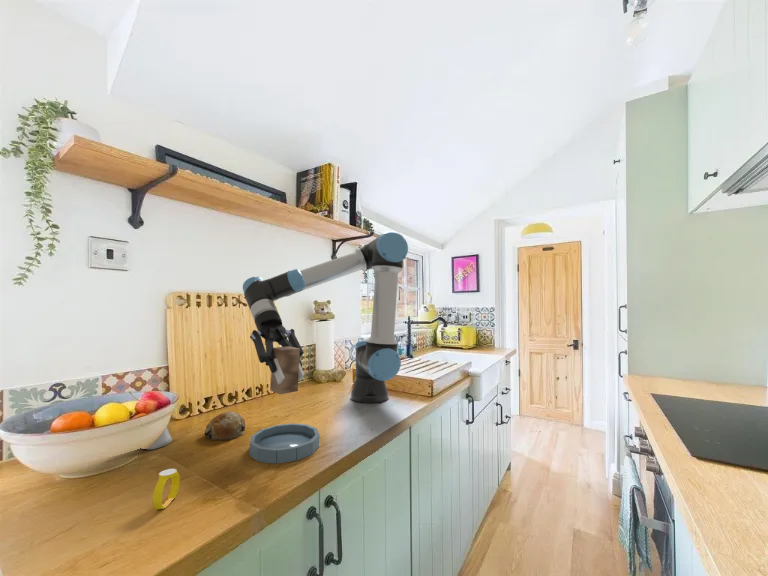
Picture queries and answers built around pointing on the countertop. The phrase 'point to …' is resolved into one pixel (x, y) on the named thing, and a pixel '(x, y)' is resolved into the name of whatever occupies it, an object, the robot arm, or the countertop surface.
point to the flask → (162, 440)
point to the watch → (160, 486)
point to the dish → (284, 443)
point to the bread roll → (225, 426)
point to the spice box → (286, 369)
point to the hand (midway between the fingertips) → (291, 379)
